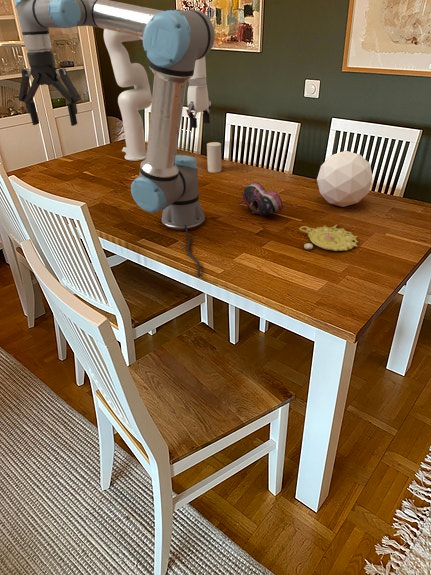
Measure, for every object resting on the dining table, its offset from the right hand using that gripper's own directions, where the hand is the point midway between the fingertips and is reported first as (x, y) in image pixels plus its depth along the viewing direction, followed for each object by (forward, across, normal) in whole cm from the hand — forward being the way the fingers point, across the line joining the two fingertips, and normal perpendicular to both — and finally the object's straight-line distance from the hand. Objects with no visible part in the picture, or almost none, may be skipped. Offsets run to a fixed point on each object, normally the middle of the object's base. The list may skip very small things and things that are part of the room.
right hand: (55, 124), depth 144 cm
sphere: (+33, -96, -26) cm, 104 cm away
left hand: (+12, -35, -58) cm, 69 cm away
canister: (+33, -40, -60) cm, 79 cm away
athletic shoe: (+33, -65, -15) cm, 75 cm away
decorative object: (+33, -90, +5) cm, 96 cm away
